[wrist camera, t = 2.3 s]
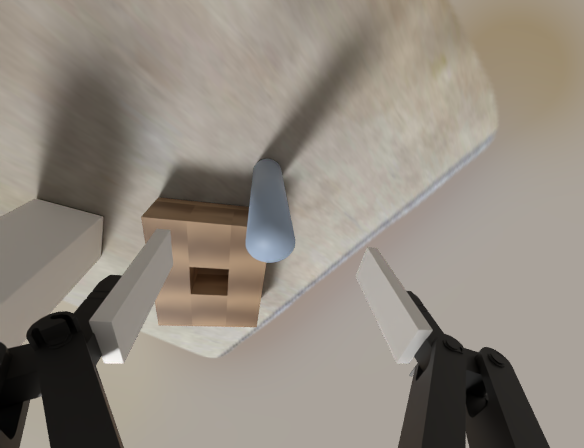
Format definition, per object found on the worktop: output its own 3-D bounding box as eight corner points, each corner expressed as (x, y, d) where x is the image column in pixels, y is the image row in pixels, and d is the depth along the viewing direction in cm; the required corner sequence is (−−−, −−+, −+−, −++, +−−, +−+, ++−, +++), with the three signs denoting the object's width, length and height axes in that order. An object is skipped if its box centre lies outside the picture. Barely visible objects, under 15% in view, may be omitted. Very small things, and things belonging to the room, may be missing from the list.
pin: (254, 156, 29) (247, 219, 16) (283, 160, 29) (299, 224, 16) (251, 184, 30) (243, 260, 18) (279, 187, 31) (290, 264, 18)
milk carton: (104, 215, 30) (-76, 370, 14) (101, 257, 34) (-49, 422, 17) (36, 197, 28) (-264, 353, 12) (40, 243, 32) (-196, 416, 15)
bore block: (158, 197, 30) (141, 217, 26) (270, 209, 32) (271, 228, 28) (170, 298, 39) (158, 325, 35) (257, 301, 41) (256, 327, 37)
